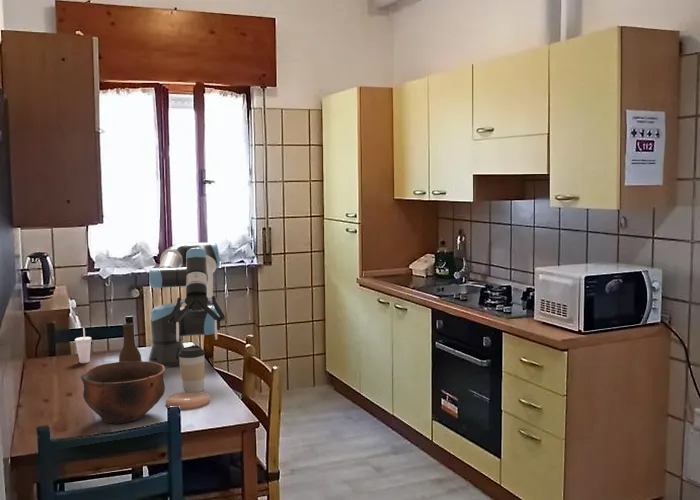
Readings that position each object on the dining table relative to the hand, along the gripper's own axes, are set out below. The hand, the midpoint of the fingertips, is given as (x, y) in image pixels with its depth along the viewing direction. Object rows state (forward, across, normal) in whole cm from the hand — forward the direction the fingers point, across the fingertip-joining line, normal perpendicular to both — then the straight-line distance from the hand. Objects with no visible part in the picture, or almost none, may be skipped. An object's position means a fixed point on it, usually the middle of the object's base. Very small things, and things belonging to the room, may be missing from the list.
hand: (196, 339), depth 264 cm
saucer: (+27, -2, -11) cm, 29 cm away
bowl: (+34, -20, -20) cm, 44 cm away
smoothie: (-10, -47, +41) cm, 63 cm away
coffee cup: (+19, -1, 0) cm, 19 cm away
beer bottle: (+17, -22, +3) cm, 28 cm away
